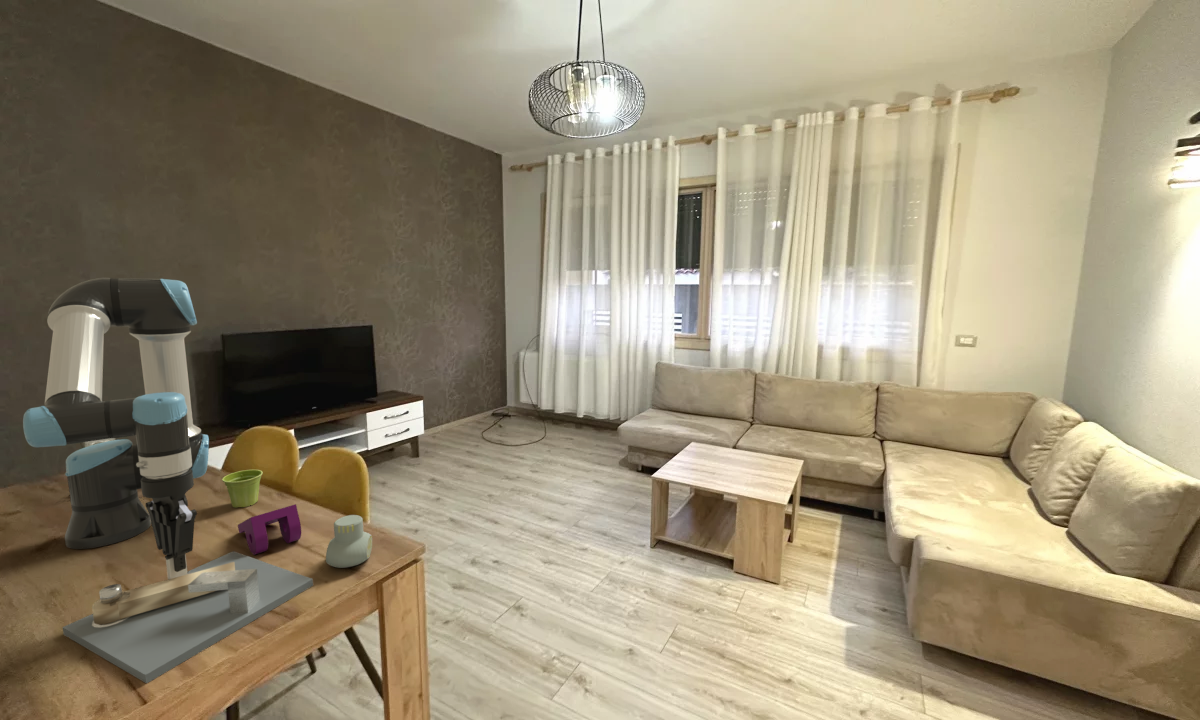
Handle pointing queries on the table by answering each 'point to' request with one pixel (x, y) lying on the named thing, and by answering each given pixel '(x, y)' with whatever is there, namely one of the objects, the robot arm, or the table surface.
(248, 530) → the mounting bracket
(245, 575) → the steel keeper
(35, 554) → the table surface
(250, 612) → the slate board
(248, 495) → the plant pot
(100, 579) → the table surface
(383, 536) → the table surface
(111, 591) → the cylinder
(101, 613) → the brass bar
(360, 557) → the air freshener
